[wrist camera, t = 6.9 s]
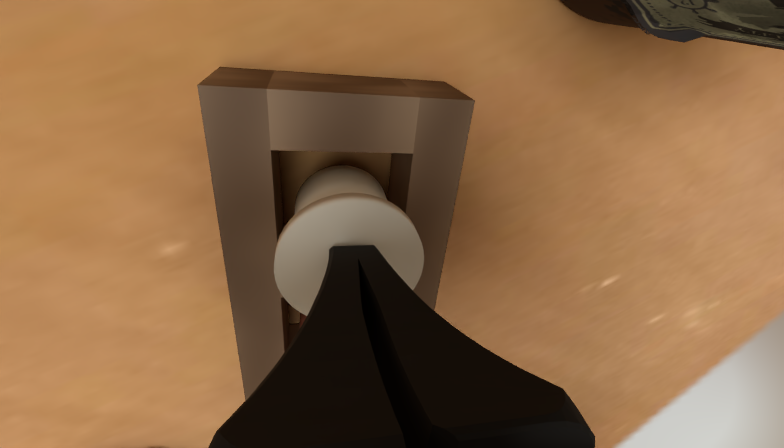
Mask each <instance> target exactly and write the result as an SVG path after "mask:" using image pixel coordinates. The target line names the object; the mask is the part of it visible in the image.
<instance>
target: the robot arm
mask: <svg viewBox="0 0 784 448" xmlns="http://www.w3.org/2000/svg"><path fill="white" fill-rule="evenodd" d="M209 448H595V436H594V434H593V433H592V431H591V430H590V428H589V426H588V425H587V423H586V422H585V420H584V418H583V417H582V415H581V414H580V412H579V410H578V409H577V407H576V406H575V404H574V403H573V402H572V400H571V399H570V398H569V396H568V395H567V394H566V392H565V391H564V390H563V389H562V388H560V387H558V386H556V385H554V384H552V383H550V382H548V381H546V380H544V379H541V378H539V377H537V376H535V375H533V374H531V373H529V372H527V371H525V370H523V369H521V368H519V367H517V366H515V365H513V364H512V363H510V362H508V361H506V360H504V359H503V358H501V357H499V356H497V355H496V354H494V353H492V352H491V351H489V350H487V349H486V348H484V347H482V346H481V345H479V344H478V343H476V342H475V341H473V340H472V339H470V338H469V337H467V336H466V335H465V334H463V333H462V332H460V331H459V330H458V329H456V328H455V327H453V326H452V325H451V324H450V323H448V322H447V321H446V320H445V319H443V318H442V317H441V316H440V315H438V314H437V313H436V312H435V311H434V310H432V309H431V308H430V307H429V306H428V305H427V304H426V303H425V302H424V301H423V300H422V299H421V298H420V297H419V296H418V295H417V294H416V293H415V292H414V291H413V290H412V289H411V288H410V287H409V286H408V285H407V284H406V283H405V281H404V280H403V279H402V278H401V277H400V276H399V275H398V274H397V273H396V271H395V270H394V269H393V268H392V267H391V265H390V264H389V263H388V262H387V260H386V259H385V258H384V257H383V255H382V254H381V253H380V251H379V250H378V249H377V248H376V247H375V246H374V245H354V246H332V247H331V248H330V249H329V260H328V265H327V269H326V272H325V275H324V278H323V281H322V284H321V286H320V289H319V292H318V294H317V296H316V298H315V300H314V303H313V305H312V307H311V309H310V311H309V313H308V315H307V317H306V319H305V321H304V322H303V324H302V326H301V328H300V329H299V331H298V333H297V334H296V336H295V337H294V339H293V340H292V342H291V343H290V345H289V346H288V348H287V349H286V351H285V352H284V354H283V355H282V357H281V358H280V360H279V361H278V362H277V364H276V365H275V366H274V367H273V369H272V370H271V371H270V372H269V374H268V375H267V376H266V377H265V379H264V380H263V381H262V382H261V383H260V385H259V386H258V387H257V388H256V390H255V391H254V392H253V393H252V394H251V395H250V397H249V398H248V399H247V400H246V401H245V402H244V403H243V404H242V405H241V406H240V407H239V408H238V409H237V410H236V411H235V412H234V414H233V415H232V416H231V417H230V418H229V419H228V420H227V421H226V422H225V423H224V424H223V425H222V426H221V427H220V428H219V429H218V430H217V431H216V433H215V435H214V437H213V439H212V441H211V443H210V445H209Z"/></svg>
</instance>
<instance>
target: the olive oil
mask: <svg viewBox="0 0 784 448" xmlns="http://www.w3.org/2000/svg"><path fill="white" fill-rule="evenodd" d="M561 1H562V2H563V3H564V4H565V5H567V6H568V7H569V8H570V9H572V10H573V11H575V12H576V13H578V14H580V15H582V16H584V17H586V18H588V19H591V20H594V21H598V22H602V23H608V24H614V25H622V26H629V27H636V28H640V29H642V28H643V29H642V31H643V30H645V33H647V32H646V31H648V33H647V34H650V33H651V34H652V35H654V36H657V37H658V38H663V39H668V40H673V41H679V42H687V41H690V40H693V39H696V38H700V37H708V38H714V39H720V40H727V41H733V42H739V43H745V44H751V45H757V46H763V47H769V48H775V49H782V50H784V0H561Z"/></svg>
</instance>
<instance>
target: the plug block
mask: <svg viewBox="0 0 784 448" xmlns="http://www.w3.org/2000/svg"><path fill="white" fill-rule="evenodd" d="M197 86H198V92H199V99H200V105H201V112H202V118H203V125H204V132H205V138H206V145H207V151H208V158H209V164H210V171H211V177H212V184H213V190H214V197H215V203H216V210H217V217H218V223H219V230H220V236H221V243H222V249H223V256H224V262H225V269H226V275H227V282H228V288H229V295H230V302H231V308H232V315H233V321H234V328H235V334H236V341H237V347H238V354H239V360H240V367H241V373H242V380H243V387H244V393H245V400H247V399H248V398H249V397H250V395H251V394H252V393H253V392H254V391H255V390H256V388H257V387H258V386H259V385H260V383H261V382H262V381H263V380H264V379H265V377H266V376H267V375H268V374H269V372H270V371H271V370H272V369H273V367H274V366H275V365H276V364H277V362H278V361H279V360H280V358H281V357H282V355H283V354H284V352H285V351H286V349H287V348H288V346H289V345H290V343H291V342H292V340H293V339H294V337H295V336H296V334H297V333H298V331H299V329H300V324H289V318H288V302H287V301H286V300H285V298H284V297H283V296H282V294H281V293H280V291H279V289H278V287H277V284H276V281H275V276H274V259H275V251H276V246H277V242H278V239H279V236H280V234H281V232H282V230H283V228H284V227H285V226H286V225H283V212H282V195H281V177H280V159H279V150H284V151H326V152H368V153H392V158H391V169H390V179H389V190H388V201H389V202H391V203H393V204H394V205H396V206H398V207H399V208H400V209H401V210H402V211H403V212H405V214H406V215H407V216H408V217H409V218H410V220H411V221H412V223H413V225H414V227H415V229H416V231H417V233H418V235H419V237H420V240H421V242H422V246H423V250H424V265H423V270H422V274H421V276H420V279H419V281H418V283H417V285H416V286H415V288H414V289H413V291H414V292H415V293H416V294H417V295H418V296H419V297H420V298H421V299H422V300H423V301H424V302H425V303H426V304H427V305H428V306H429V307H430V308H431V309H432V310H434V308H435V303H436V298H437V293H438V288H439V283H440V277H441V272H442V267H443V262H444V257H445V252H446V246H447V241H448V236H449V231H450V226H451V221H452V216H453V210H454V205H455V200H456V195H457V190H458V185H459V180H460V174H461V169H462V164H463V159H464V154H465V149H466V143H467V138H468V133H469V128H470V123H471V118H472V113H473V107H474V102H475V100H473V99H472V98H470V97H468V96H467V95H465V94H463V93H462V92H460V91H459V90H457V89H455V88H454V87H452V86H451V85H449V84H447V83H446V82H440V81H425V80H410V79H394V78H379V77H364V76H349V75H333V74H318V73H303V72H288V71H272V70H257V69H242V68H226V67H219V68H218V69H217V70H215V71H214V72H213V73H212V74H210V75H209V76H208V77H207V78H206V79H204V80H203V81H202V82H201V83H199V84H198V85H197Z"/></svg>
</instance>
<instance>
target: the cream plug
mask: <svg viewBox="0 0 784 448" xmlns="http://www.w3.org/2000/svg"><path fill="white" fill-rule="evenodd" d="M354 245H374V246H375V247H376V248H377V249H378V250H379V251H380V253H381V254H382V255H383V257H384V258H385V259H386V260H387V262H388V263H389V264H390V265H391V267H392V268H393V269H394V270H395V271H396V273H397V274H398V275H399V276H400V277H401V278H402V279H403V280H404V281H405V283H406V284H407V285H408V286H409V287H410V288H411V289H412V290H413V289H414V288H415V286H416V285H417V283H418V281H419V279H420V276H421V274H422V270H423V265H424V250H423V246H422V242H421V240H420V237H419V235H418V233H417V231H416V229H415V227H414V225H413V223H412V221H411V220H410V218H409V217H408V216H407V215H406V214H405V212H403V211H402V210H401V209H400V208H399V207H398V206H396V205H394V204H393V203H391V202H389V201H388V200H387V198H386V195H385V193H384V191H383V188H382V186H381V185H380V183H379V182H378V181H377V180H376V179H375V178H374V177H373V176H372V175H371V174H369V173H368V172H366V171H364V170H362V169H360V168H357V167H353V166H345V165H339V166H331V167H328V168H324V169H322V170H320V171H318V172H316V173H314V174H313V175H311V176H310V177H309V178H308V179H307V180H306V181H305V182H304V183H303V185H302V186H301V187H300V189H299V191H298V194H297V196H296V201H295V213H294V216H293V217H292V218H291V219H290V220H289V222H288V223H287V224H286V226H285V227H284V228H283V230H282V232H281V234H280V236H279V239H278V242H277V246H276V251H275V259H274V276H275V281H276V284H277V287H278V289H279V291H280V293H281V294H282V296H283V297H284V298H285V300H286V301H287V302H288V303H289V304H290V305H291V306H292V307H293V308H295V309H296V310H297V311H299V312H300V313H302V314H304V315H306V316H307V315H308V313H309V311H310V309H311V307H312V305H313V303H314V300H315V298H316V296H317V294H318V292H319V289H320V286H321V284H322V281H323V278H324V275H325V272H326V269H327V265H328V260H329V249H330V248H331V247H332V246H354Z"/></svg>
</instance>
